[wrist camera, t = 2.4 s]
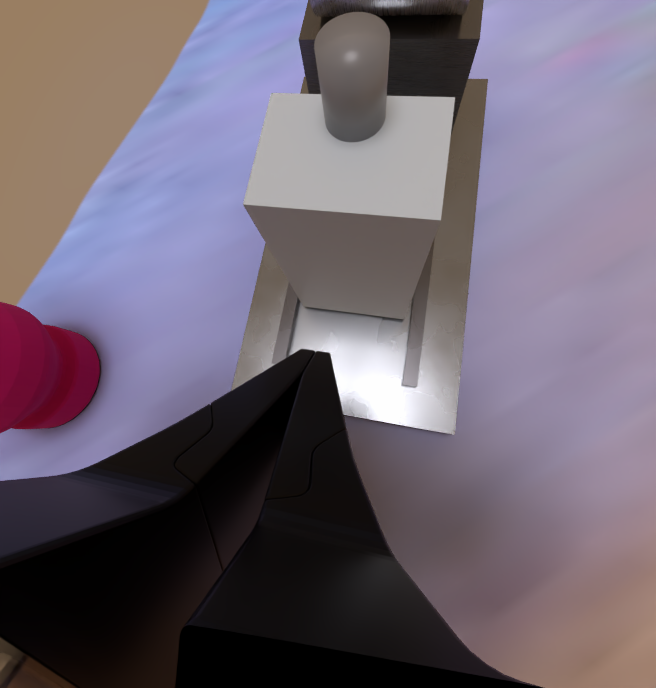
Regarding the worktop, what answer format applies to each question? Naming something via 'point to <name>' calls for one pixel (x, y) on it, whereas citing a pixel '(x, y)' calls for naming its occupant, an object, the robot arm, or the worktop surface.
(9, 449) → the worktop surface
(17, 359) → the pepper mill
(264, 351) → the base
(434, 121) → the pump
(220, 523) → the robot arm
